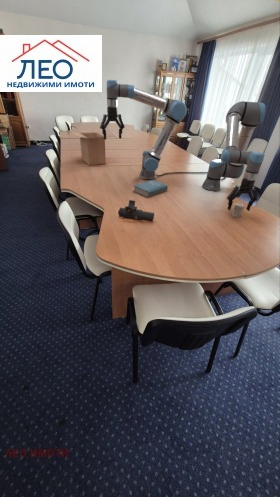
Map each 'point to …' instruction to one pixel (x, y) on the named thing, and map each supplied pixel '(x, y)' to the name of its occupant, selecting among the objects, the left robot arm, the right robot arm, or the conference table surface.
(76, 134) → the box
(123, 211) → the laser sight
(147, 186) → the book
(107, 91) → the left robot arm
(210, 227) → the conference table surface
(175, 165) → the conference table surface
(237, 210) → the can
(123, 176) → the conference table surface
